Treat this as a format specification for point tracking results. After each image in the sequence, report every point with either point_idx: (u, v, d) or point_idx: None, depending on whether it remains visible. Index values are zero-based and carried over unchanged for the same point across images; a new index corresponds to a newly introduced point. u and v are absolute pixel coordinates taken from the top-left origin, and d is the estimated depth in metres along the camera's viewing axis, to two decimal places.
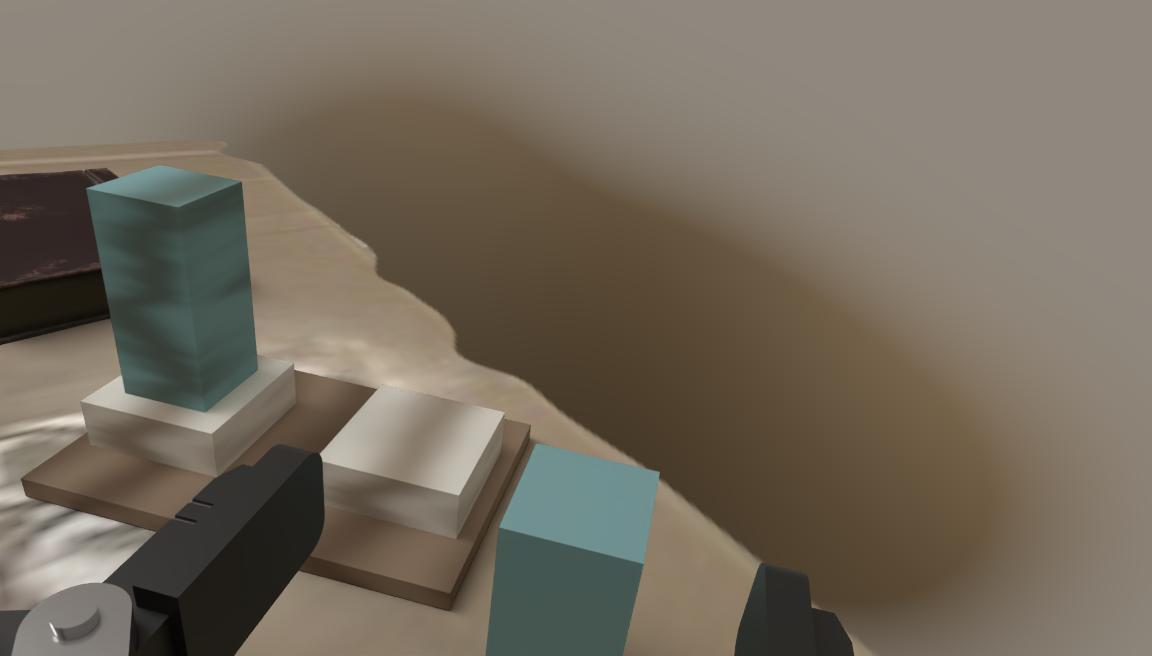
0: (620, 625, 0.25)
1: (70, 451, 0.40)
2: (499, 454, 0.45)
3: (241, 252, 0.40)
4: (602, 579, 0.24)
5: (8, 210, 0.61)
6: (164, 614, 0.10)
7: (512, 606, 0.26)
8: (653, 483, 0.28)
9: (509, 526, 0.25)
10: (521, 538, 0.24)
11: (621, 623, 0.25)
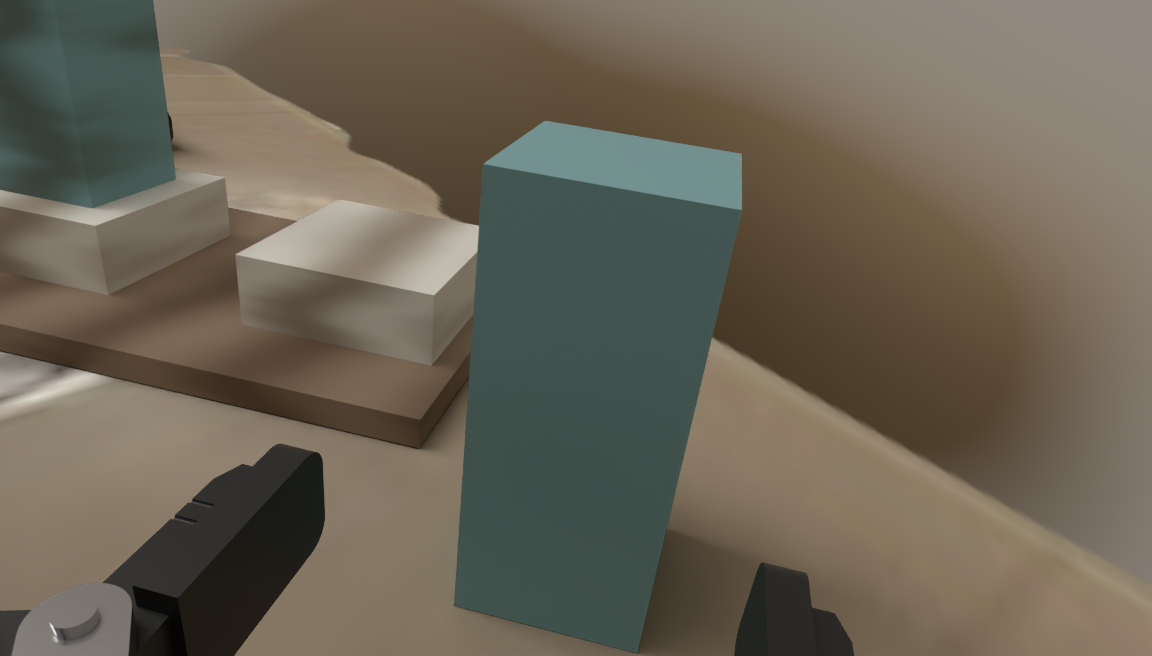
0: (693, 350, 0.15)
1: None
2: None
3: None
4: (664, 254, 0.14)
5: None
6: (164, 614, 0.10)
7: (507, 333, 0.15)
8: (734, 159, 0.17)
9: (501, 165, 0.14)
10: (522, 182, 0.14)
11: (695, 348, 0.15)
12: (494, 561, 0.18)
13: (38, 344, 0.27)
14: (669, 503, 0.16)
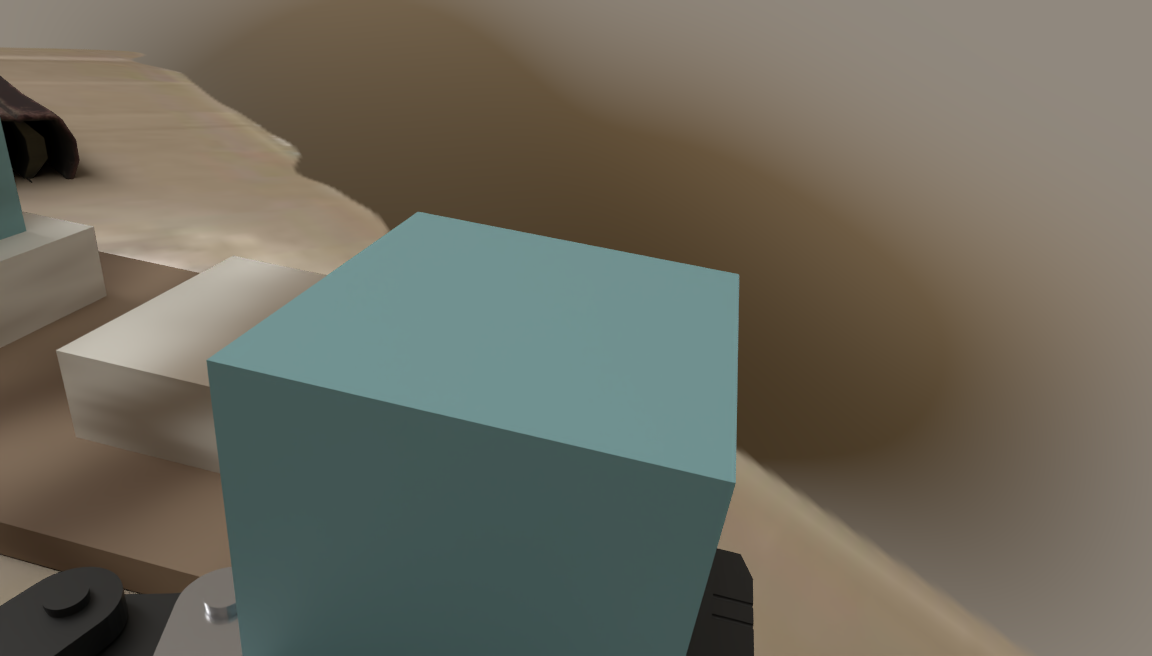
0: None
1: None
2: None
3: None
4: (577, 547, 0.07)
5: None
6: None
7: (300, 639, 0.08)
8: (727, 292, 0.10)
9: (248, 360, 0.07)
10: (285, 397, 0.07)
11: None
12: None
13: None
14: None
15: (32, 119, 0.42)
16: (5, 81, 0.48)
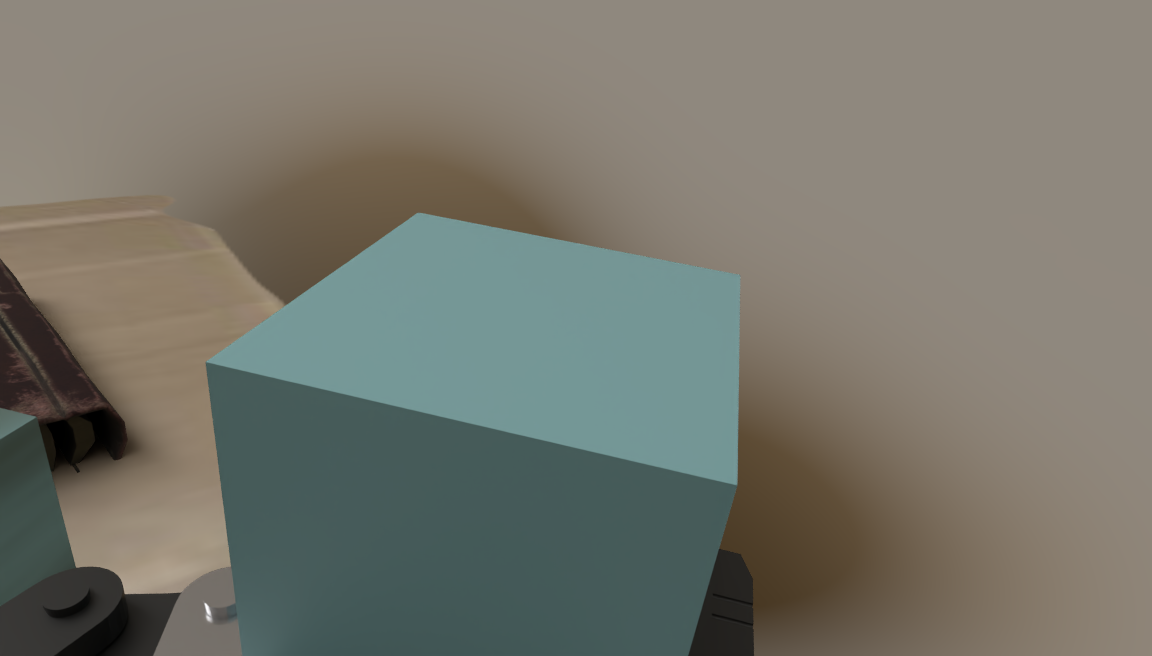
0: None
1: None
2: None
3: (49, 539, 0.21)
4: (578, 549, 0.07)
5: None
6: None
7: (300, 642, 0.08)
8: (728, 293, 0.10)
9: (248, 362, 0.07)
10: (285, 399, 0.07)
11: None
12: None
13: None
14: None
15: (80, 414, 0.40)
16: (50, 334, 0.46)
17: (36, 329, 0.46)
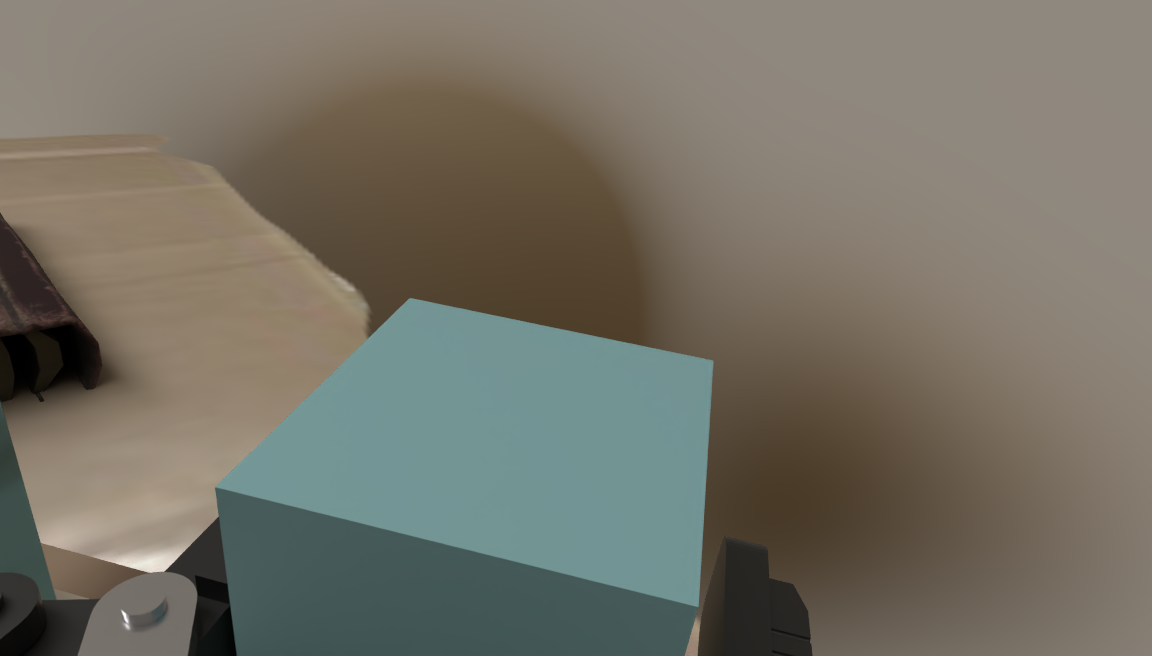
0: None
1: None
2: None
3: None
4: (556, 655, 0.07)
5: None
6: (225, 603, 0.10)
7: None
8: (700, 383, 0.11)
9: (253, 484, 0.08)
10: (288, 520, 0.07)
11: None
12: None
13: None
14: None
15: (43, 328, 0.33)
16: (18, 246, 0.39)
17: (2, 241, 0.39)
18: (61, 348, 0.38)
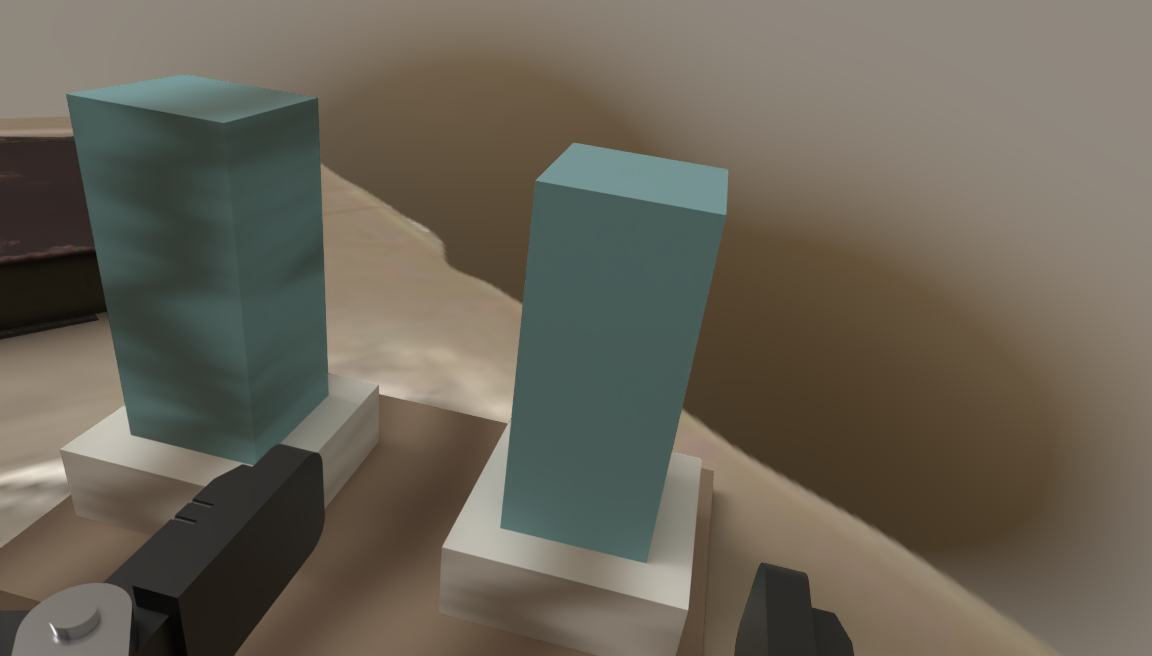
0: (691, 319, 0.20)
1: (44, 527, 0.26)
2: None
3: (313, 213, 0.26)
4: (669, 247, 0.19)
5: None
6: (164, 614, 0.10)
7: (549, 307, 0.20)
8: (722, 174, 0.22)
9: (548, 181, 0.19)
10: (564, 194, 0.19)
11: (692, 317, 0.20)
12: (534, 490, 0.23)
13: None
14: (672, 439, 0.21)
15: None
16: None
17: None
18: None
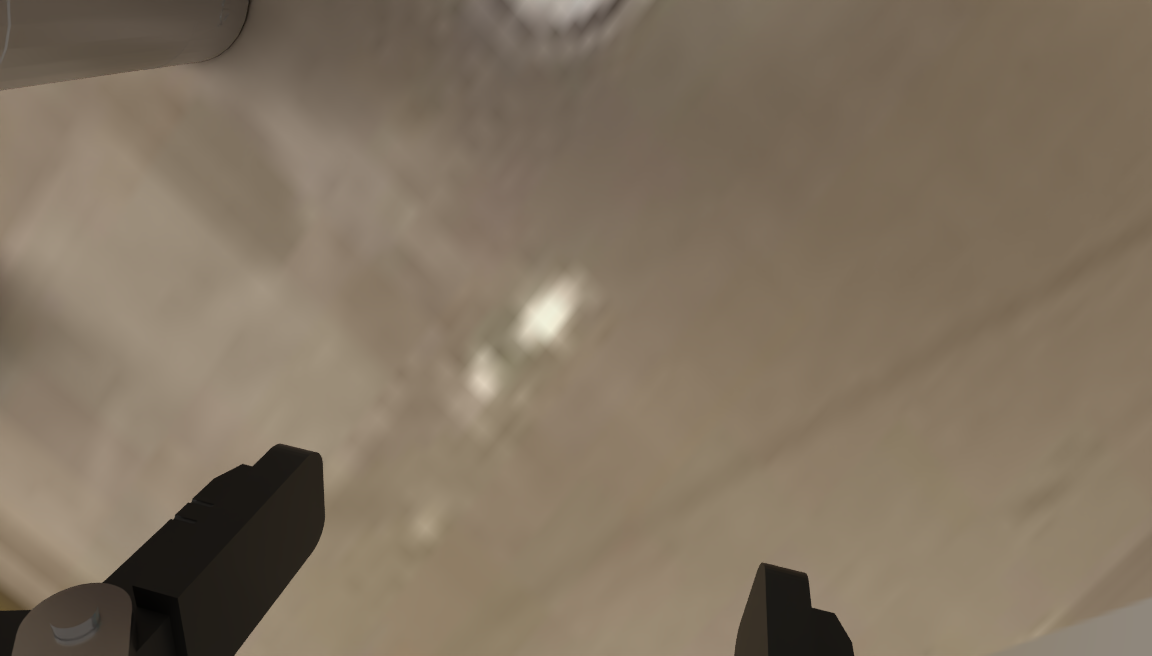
0: None
1: None
2: None
3: None
4: None
5: None
6: (164, 614, 0.10)
7: None
8: None
9: None
10: None
11: None
12: None
13: None
14: None
15: None
16: None
17: None
18: None
